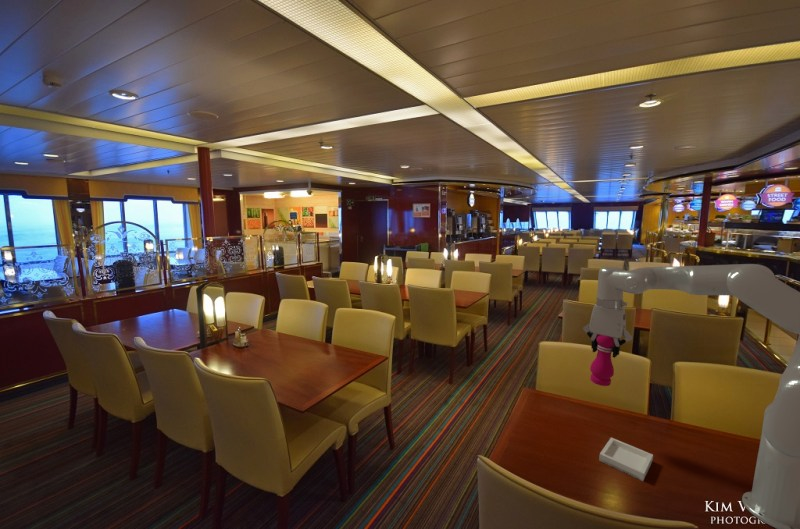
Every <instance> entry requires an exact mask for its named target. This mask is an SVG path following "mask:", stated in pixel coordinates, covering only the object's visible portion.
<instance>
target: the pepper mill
mask: <svg viewBox="0 0 800 529" xmlns="http://www.w3.org/2000/svg"><path fill="white" fill-rule="evenodd" d="M596 340H597V342H598V344H597V349H598V350H597V353H596V356H595V358H594V359H593V361H592V362H591V364H590V367H589V370H590V372H591V374H590V378H589V379H590V382H592V383H593V384H596V385H598V386H601V387H608V386H611V383H612V379H611V378H612V377H613V376H614V375H615V369H614V365H613V362H612V354H613V346H614V345H615V342H614V339H613V338H612V337H609V336H605V335H599V334H598V335H597V337H596Z"/></svg>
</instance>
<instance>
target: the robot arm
mask: <svg viewBox="0 0 800 529" xmlns="http://www.w3.org/2000/svg"><path fill="white" fill-rule="evenodd" d="M597 277H598V279H597V289H596V290H597V291H596V301H595V302H596V303H595V304H594V305H593V308H592V311H591V314H590V315H591V316H590V320H589V323H587V324H586V325H584V326H583V327H582V330H583V331H584V332H585V334H586V335H587V336H588V337H589V339H590V341H591V349H592V353H595V352H598V349H597V344H598V342H597V340H596V337H597V335H598V334H599V335H605V336H609V337H612V338H613V339H614V342H615V345H614V346H613V352H612V358H614V359H615V358H616V357H617V356H620V352H621V351H620V350H621V346H622V345H625V344H626V343H627V342H630V341H632V340H633V336H632V335H631V334H630V332H629V331H628V330H627V329H626V328H627V326H626V325H627V324H626V322H627V320H626V309H625V308H624V307H628V302H625V301H624V299H623V298H624V293H628V294H632V295H633V294H634V295H639V294H642V293H643V294H644V292H646V291H649V290H671V291H680V292H683V293H686V294H689V295H694V296H732V297H733V296H734V297H735V298H736V299H737V300H740V301H741V302H742V303H744V305H746V306H748V307H750V308H751V309H753V310H754V311H756V312H757V313H759V314H761V315H762V316H763V317H765V318H767V319H768V320H769V321H771V322H773V323H774V324H776V325H778V326H779V327H781V328H783V329H784V330H786V331H788V332H791V333H794V334H795V335H798V338H797V341H796V343H795V345H794V349H793V352H792V355H791V357H790V359H789V361H788V364H787V365H786V367H785V369H784V371H783V373H782V374H781V376H780V378H779V383H778V388H777V391H776V394H775V396H774V398H773V401H772V402H771V403H769V404H768V405H767V406H766V407H765V409H764V414H763V422H762V430H761V436H760V442H759V448H758V453H757V459H756V465H755V470H754V475H753V476H754V477H753V481H752V482H753V483H752V489H751V491H746V492H745V493H743V495H742V497H741V498H742V499H741V501H742V504H743V506H744V507H745V508H746V510H747V511H748V512H749V513H751V514H752V515H753V516H754V517H756V518H757V519H759V520H760V521H761V522H763V523H765V524H766V525H769V526H770V527H772V528H775V529H800V291H798V290H797V289H795V288H793V287H791V286H790V285H788V284H786V283H785V282H783V281H782V280H779V279H778V278H776V276H775V274H774V272H773V271H772V270H771V269H770V268H769V267H767V266H765V265H762V264H758V263H757V264H756V263H741V264H740V263H739V264H736V263H735V264H712V265H710V264H709V265H683V266H682V265H680V266H678V265H677V266H645V267H639V268H635V269H630V270H624V269H623V268H621V267H617V266H616V267H615V266H603V267H600V269H599V270H598V276H597ZM623 336H624V337H625V338H623V339H621V338H622V337H623Z"/></svg>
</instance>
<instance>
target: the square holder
mask: <svg viewBox="0 0 800 529" xmlns="http://www.w3.org/2000/svg"><path fill="white" fill-rule="evenodd" d="M598 458H599V460H598V461H599V462H601V463H603V464H606V465H607V466H610V467H612V468H614V469H616V470H618V471H620V472H622V473H624V472H625V473H624V474H626V473H627V474H626V475H629V476H630V477H633V478H635V479H637V480H639V481H640V482H641V481H642V482H644V480H645V478H646V476H647V474H648V472H649V470H650V468H651V465H652V463H653V459H654V454H653V453H651V452H650V453H649V452H647V451H645V450H643V449H640V448H638V447H636V446H633V445H631V444H628V443H626V442H623V441H620V440H618V439H616V438H613V437H610V438H609V440H608V441H607V443H606V444H605V446H604V447H603V448H602V449H601V451H600V453H599V457H598Z"/></svg>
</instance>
